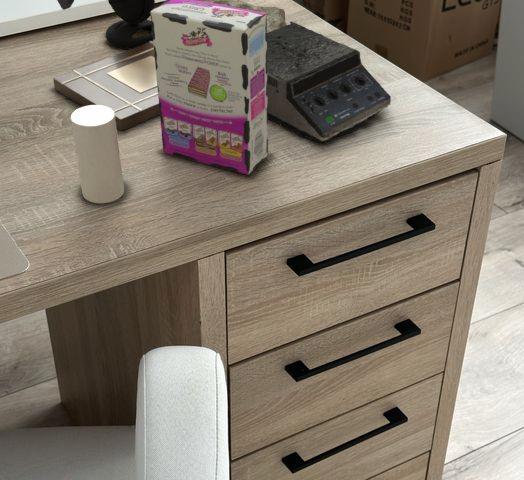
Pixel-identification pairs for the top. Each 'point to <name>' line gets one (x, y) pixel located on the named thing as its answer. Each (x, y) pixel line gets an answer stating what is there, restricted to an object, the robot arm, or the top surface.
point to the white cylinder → (97, 153)
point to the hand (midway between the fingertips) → (33, 17)
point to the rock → (273, 13)
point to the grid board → (117, 85)
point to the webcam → (130, 23)
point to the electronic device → (318, 84)
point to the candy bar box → (212, 83)
